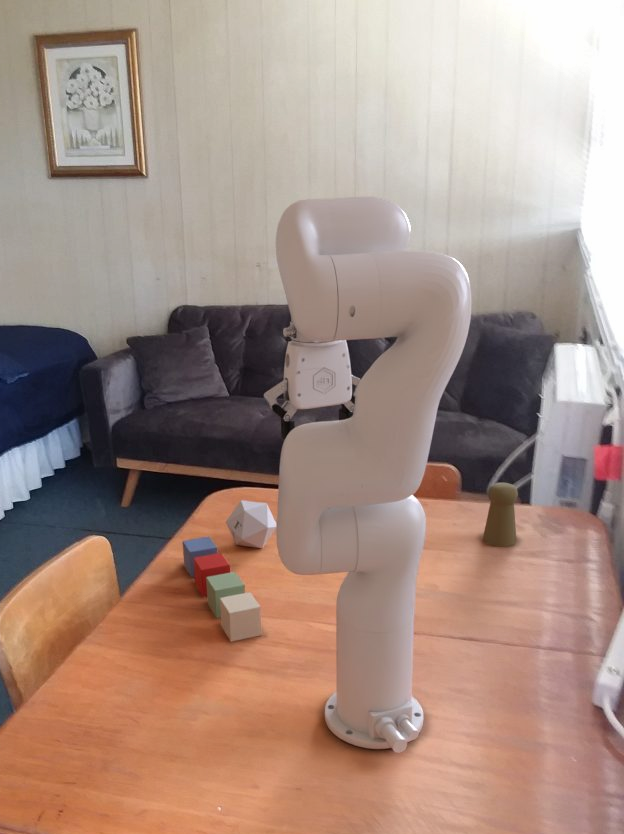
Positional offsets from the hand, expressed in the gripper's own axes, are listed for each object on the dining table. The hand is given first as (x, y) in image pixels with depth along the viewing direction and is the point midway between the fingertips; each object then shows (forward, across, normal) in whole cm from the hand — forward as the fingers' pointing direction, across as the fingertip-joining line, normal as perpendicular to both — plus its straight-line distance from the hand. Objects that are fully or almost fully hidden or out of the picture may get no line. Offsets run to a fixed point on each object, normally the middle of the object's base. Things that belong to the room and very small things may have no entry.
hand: (317, 438), depth 134 cm
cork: (+26, +38, +3) cm, 46 cm away
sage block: (+26, -17, -2) cm, 31 cm away
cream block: (+26, -17, -9) cm, 33 cm away
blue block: (+26, -17, +14) cm, 34 cm away
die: (+26, -5, +20) cm, 34 cm away
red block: (+26, -17, +6) cm, 32 cm away
